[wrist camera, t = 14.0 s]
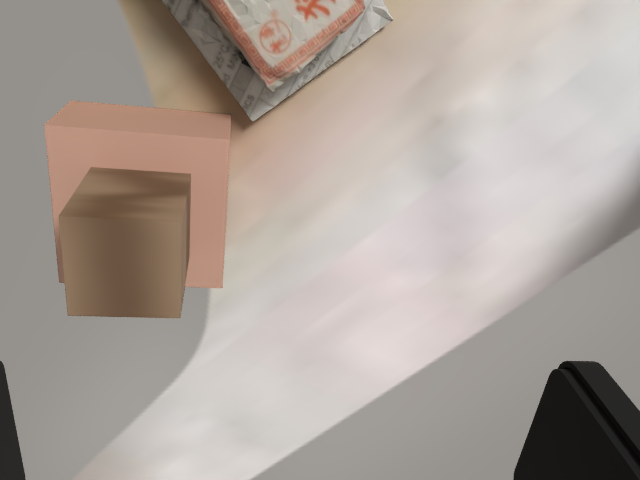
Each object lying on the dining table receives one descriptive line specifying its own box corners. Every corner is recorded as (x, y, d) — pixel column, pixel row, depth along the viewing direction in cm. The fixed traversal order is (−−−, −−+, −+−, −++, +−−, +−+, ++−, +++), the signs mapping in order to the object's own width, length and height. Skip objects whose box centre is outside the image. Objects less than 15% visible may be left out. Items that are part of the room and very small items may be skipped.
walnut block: (191, 173, 30) (181, 222, 24) (189, 256, 32) (180, 318, 27) (91, 167, 29) (58, 216, 24) (96, 253, 31) (67, 315, 26)
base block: (231, 114, 34) (230, 139, 29) (224, 248, 38) (222, 288, 33) (70, 100, 32) (44, 125, 28) (80, 241, 36) (59, 282, 32)
